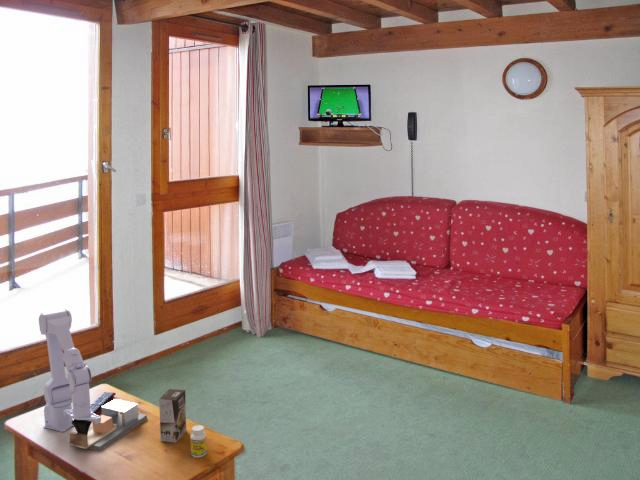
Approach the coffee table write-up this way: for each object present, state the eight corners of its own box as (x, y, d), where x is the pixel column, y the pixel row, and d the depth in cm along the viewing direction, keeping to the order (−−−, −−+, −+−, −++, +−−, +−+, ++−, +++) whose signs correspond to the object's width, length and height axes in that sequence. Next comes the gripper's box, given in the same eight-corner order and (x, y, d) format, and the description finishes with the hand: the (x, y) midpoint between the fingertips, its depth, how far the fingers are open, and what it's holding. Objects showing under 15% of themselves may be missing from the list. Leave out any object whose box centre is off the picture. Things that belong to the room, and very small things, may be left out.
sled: (69, 444, 224) (68, 432, 223) (101, 425, 238) (100, 413, 237) (85, 448, 221) (85, 436, 220) (116, 428, 235) (116, 417, 235)
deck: (70, 443, 228) (69, 439, 228) (119, 412, 252) (119, 408, 251) (99, 451, 223) (99, 446, 223) (147, 418, 247) (146, 415, 247)
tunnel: (102, 421, 241) (101, 406, 240) (115, 413, 248) (114, 398, 247) (125, 426, 237) (124, 412, 236) (138, 418, 244) (137, 403, 243)
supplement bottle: (206, 449, 225) (205, 423, 224) (207, 457, 220) (206, 430, 218) (190, 450, 224) (189, 425, 222) (191, 458, 219) (190, 432, 217)
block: (93, 431, 232) (92, 420, 232) (102, 425, 237) (102, 414, 236) (103, 433, 231) (102, 423, 230) (112, 427, 235) (112, 417, 234)
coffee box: (177, 443, 229) (175, 400, 226) (159, 441, 230) (158, 398, 227) (187, 431, 238) (186, 389, 235) (170, 429, 239) (169, 388, 236)
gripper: (106, 400, 223) (108, 437, 226) (72, 393, 228) (75, 429, 231) (91, 409, 217) (94, 446, 219) (57, 401, 222) (60, 438, 225)
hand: (83, 438), depth 225 cm, fingers closed, pressing on sled
